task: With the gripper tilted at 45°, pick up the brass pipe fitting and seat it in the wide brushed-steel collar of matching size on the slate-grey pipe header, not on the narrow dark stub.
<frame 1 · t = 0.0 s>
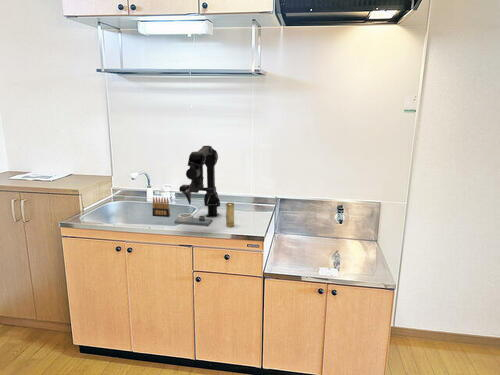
hand: (198, 204, 199), 15 cm above the countertop, tool pointing down, fingers open, 9 cm apart
pipe header: (193, 222, 216), on the countertop
ammunition clip: (161, 216, 226), on the countertop
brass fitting: (230, 225, 211), on the countertop
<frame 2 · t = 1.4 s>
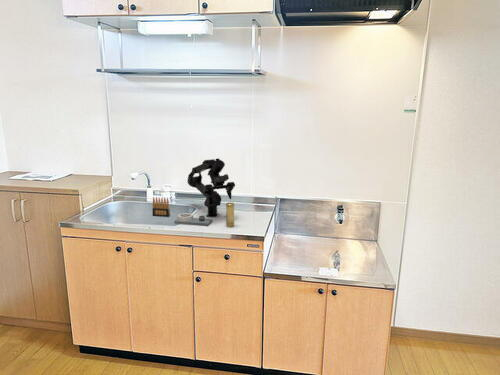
hand: (223, 199, 214), 13 cm above the countertop, tool tilted 45°, fingers open, 9 cm apart
nothing on the countertop moved.
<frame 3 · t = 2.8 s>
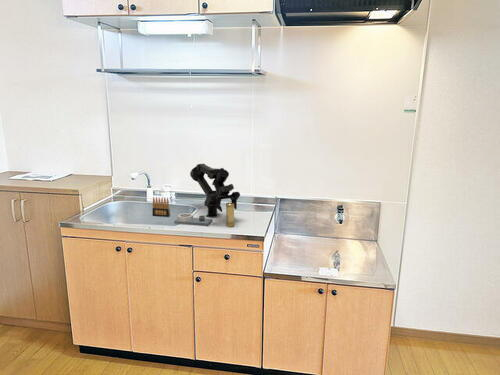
hand: (229, 210, 210), 9 cm above the countertop, tool tilted 45°, fingers open, 9 cm apart
nothing on the countertop moved.
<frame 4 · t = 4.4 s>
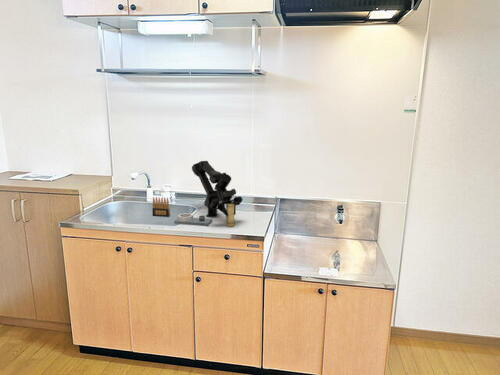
hand: (231, 215, 208), 7 cm above the countertop, tool tilted 45°, fingers closed on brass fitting, 4 cm apart
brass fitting: (230, 225, 211), on the countertop, touching gripper
everything else where it was.
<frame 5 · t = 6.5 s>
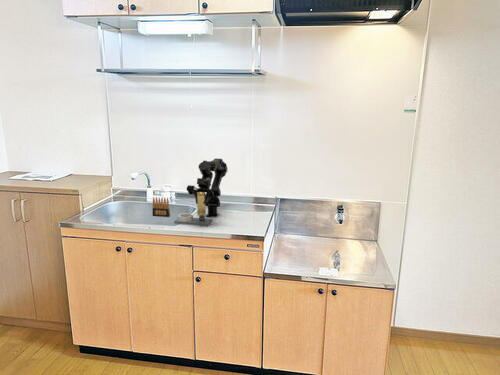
hand: (200, 203, 205), 13 cm above the countertop, tool tilted 45°, fingers closed on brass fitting, 4 cm apart
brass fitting: (201, 214, 208), point 7 cm above the countertop, touching gripper
everything else where it was.
when the fingers open (9 cm above the countertop, at t = 8.7 s): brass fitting stays where it is, resting on pipe header.
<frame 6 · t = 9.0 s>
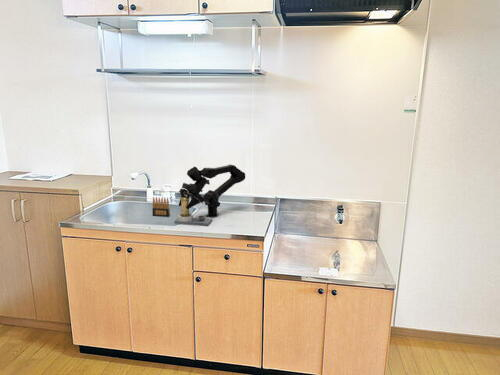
hand: (182, 207, 213), 9 cm above the countertop, tool tilted 45°, fingers open, 8 cm apart
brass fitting: (185, 219, 216), point 2 cm above the countertop, touching pipe header
everything else where it was.
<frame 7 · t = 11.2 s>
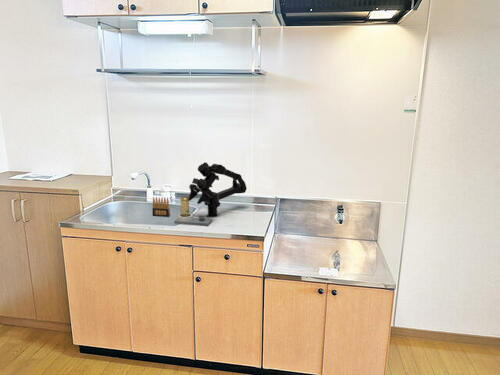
hand: (193, 202, 218), 11 cm above the countertop, tool tilted 45°, fingers open, 9 cm apart
nothing on the countertop moved.
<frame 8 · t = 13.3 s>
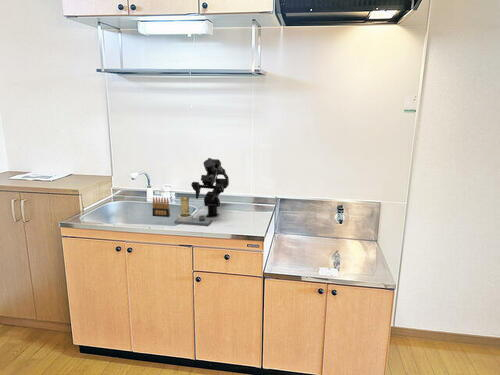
hand: (204, 199, 213), 14 cm above the countertop, tool tilted 45°, fingers open, 9 cm apart
nothing on the countertop moved.
at the end: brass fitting 0.0 cm from the target spot on the pipe header, point 1.5 cm above the pipe header's base; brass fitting tilted 0°; the gripper is holding nothing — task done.
